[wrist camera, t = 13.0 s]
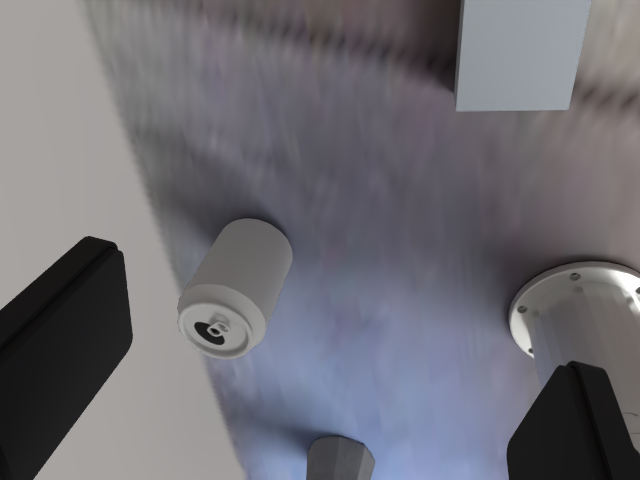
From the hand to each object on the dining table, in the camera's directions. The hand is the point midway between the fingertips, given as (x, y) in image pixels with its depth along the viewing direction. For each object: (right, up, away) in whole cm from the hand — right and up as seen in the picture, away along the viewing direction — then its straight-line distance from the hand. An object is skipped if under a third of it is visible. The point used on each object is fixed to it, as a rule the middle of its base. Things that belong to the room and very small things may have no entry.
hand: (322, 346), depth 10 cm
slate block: (+13, +16, +23) cm, 31 cm away
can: (-6, +2, +37) cm, 38 cm away
